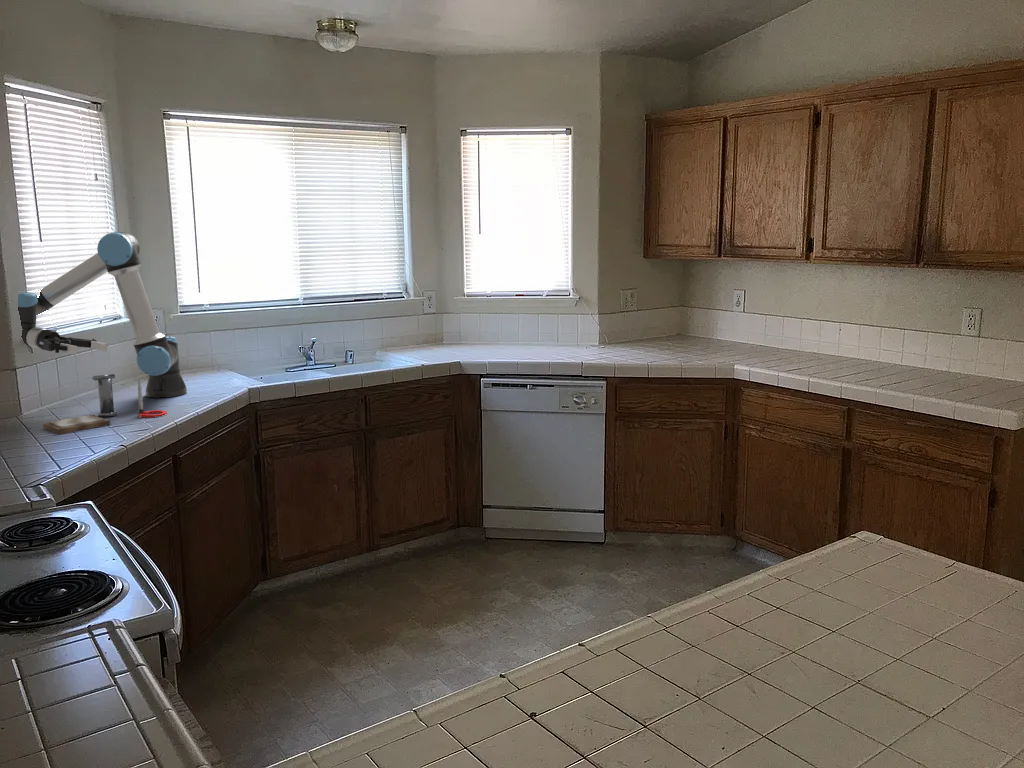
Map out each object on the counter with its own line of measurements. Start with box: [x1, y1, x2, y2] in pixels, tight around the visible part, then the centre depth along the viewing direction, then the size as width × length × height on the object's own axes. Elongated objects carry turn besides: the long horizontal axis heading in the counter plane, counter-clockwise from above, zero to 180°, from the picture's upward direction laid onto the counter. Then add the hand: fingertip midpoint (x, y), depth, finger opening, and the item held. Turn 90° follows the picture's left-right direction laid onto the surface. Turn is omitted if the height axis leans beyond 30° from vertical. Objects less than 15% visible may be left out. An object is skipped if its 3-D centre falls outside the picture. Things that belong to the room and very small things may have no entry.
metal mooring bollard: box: [92, 373, 118, 418], centre depth 292 cm, size 8×6×14 cm
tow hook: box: [137, 379, 168, 419], centre depth 292 cm, size 8×13×9 cm
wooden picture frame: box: [42, 414, 111, 435], centre depth 278 cm, size 16×14×2 cm
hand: (91, 348), depth 293 cm, fingers open, 13 cm apart
